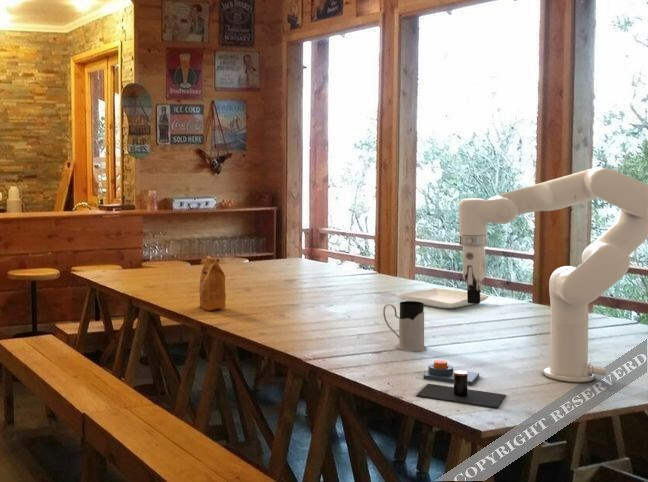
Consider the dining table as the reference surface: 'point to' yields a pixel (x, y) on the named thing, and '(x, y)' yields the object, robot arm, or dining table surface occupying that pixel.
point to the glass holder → (410, 325)
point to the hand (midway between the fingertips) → (473, 302)
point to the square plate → (440, 298)
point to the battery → (460, 383)
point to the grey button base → (447, 374)
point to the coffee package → (212, 285)
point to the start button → (440, 364)
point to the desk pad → (472, 398)
